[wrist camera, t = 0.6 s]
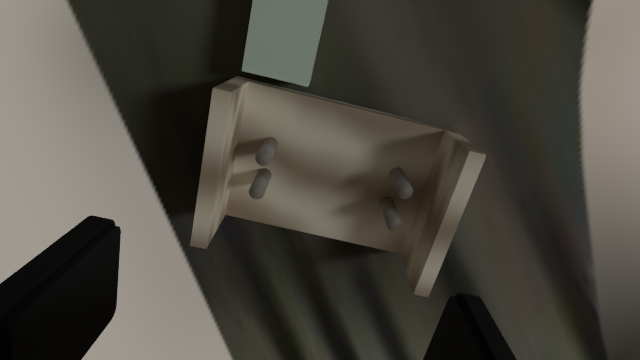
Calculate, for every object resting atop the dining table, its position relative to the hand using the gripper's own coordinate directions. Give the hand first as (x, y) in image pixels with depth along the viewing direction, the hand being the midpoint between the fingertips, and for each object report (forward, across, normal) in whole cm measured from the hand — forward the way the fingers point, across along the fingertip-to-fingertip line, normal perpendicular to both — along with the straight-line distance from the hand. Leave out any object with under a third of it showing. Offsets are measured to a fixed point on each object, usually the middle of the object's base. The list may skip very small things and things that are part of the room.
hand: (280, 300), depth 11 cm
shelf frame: (+24, -2, +4) cm, 25 cm away
